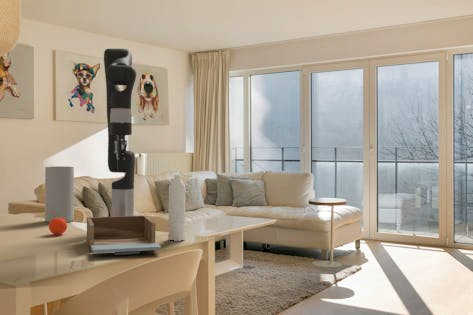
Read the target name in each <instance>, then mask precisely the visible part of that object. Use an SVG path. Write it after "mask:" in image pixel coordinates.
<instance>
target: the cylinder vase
mask: <svg viewBox="0 0 473 315" xmlns="http://www.w3.org/2000/svg"><path fill="white" fill-rule="evenodd" d="M74 175H75V168H74V166H62V165H61V166H45V170H44V177H45V179H44V186H45V187H44V190H45V191H44V192H45V193H44V197H45V198H44V202H45V205H44V206H45V207H44V210H45V211H44V216H45V217H44V221H45V222H46V223H48V224H49V223H50V221H51V220H52V219H53V218H56V217H60V218H63V219H64V220H65V221H66V223H70V222H74V219H75V218H74V216H75V214H74V212H75V211H74V209H75V206H74V201H75V199H74V198H75V194H74V193H75V190H74V189H75V186H74V184H75V182H74V181H75V178H74V177H75V176H74Z"/></svg>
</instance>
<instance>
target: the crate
mask: <svg viewBox="0 0 473 315" xmlns="http://www.w3.org/2000/svg"><path fill="white" fill-rule="evenodd" d="M153 242H156V222H154V220H152V219H151V218H150V217H149V216H147V215H134V216H116V217H111V216H93V217H91V216H90V217H86V243H88V244H87V245H88V246H89V247H88V249H90V250H89V252H90V253H93V252H92V249H91V245H110V244H131V243H153Z"/></svg>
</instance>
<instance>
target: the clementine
mask: <svg viewBox="0 0 473 315" xmlns="http://www.w3.org/2000/svg"><path fill="white" fill-rule="evenodd" d="M48 229H49V231H50V233H52V234H53V235H56V236H60V235H63V234H64V233H65V232H66V231H67V229H68V222H66V221H65V220H64V219H63V218H60V217H56V218H53V219H52V220H51V221H50V223H49V222H48Z"/></svg>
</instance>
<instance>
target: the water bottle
mask: <svg viewBox="0 0 473 315" xmlns="http://www.w3.org/2000/svg"><path fill="white" fill-rule="evenodd" d="M184 176H185V178H192V173H191V174H190V173H186V174H184ZM181 178H182V177H181V174H174V175H173V179H172V181H171V182H170V183H169V186H168V209H167V210H168V223H167V224H168V225H167V226H168V228H167V229H168V230H167V232H168V235H167V239H169V240H168V241H170V240H174V241H173V242H182V241H181V240H184V241H185V240H186V216H187V215H186V194H187V193H186V191H187V190H186V189H187V188H186V185H185V183H184V181H183V180H182V179H181Z"/></svg>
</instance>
